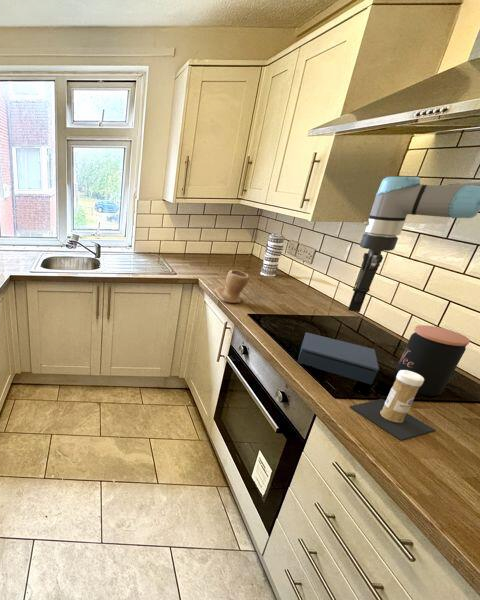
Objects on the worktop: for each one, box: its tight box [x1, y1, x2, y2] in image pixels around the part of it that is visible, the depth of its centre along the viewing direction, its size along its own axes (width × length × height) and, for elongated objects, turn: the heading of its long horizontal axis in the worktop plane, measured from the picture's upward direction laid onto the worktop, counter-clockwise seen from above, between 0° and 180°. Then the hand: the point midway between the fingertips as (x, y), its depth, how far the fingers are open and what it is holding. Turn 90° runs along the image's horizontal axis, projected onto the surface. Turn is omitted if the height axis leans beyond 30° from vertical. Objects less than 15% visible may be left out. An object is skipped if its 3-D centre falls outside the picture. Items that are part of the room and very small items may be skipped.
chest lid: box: [300, 331, 380, 372], centre depth 104 cm, size 16×19×1 cm
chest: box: [297, 335, 378, 386], centre depth 106 cm, size 15×19×5 cm
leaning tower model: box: [260, 233, 286, 277], centre depth 193 cm, size 9×9×25 cm
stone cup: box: [214, 269, 250, 304], centre depth 156 cm, size 15×12×15 cm
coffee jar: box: [392, 324, 471, 397], centre depth 92 cm, size 11×11×18 cm
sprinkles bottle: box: [380, 370, 424, 423], centre depth 80 cm, size 5×5×13 cm
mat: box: [349, 398, 436, 442], centre depth 82 cm, size 12×12×1 cm
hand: (353, 310), depth 98 cm, fingers closed
